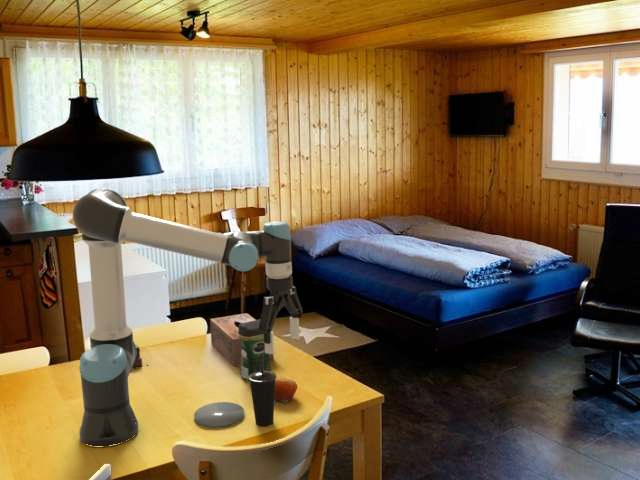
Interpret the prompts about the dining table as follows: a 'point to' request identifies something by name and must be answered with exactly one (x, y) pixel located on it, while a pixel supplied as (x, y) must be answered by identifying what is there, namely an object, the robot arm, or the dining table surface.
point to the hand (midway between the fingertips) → (282, 345)
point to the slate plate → (219, 415)
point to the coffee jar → (252, 349)
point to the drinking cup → (263, 395)
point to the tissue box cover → (229, 336)
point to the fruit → (284, 389)
